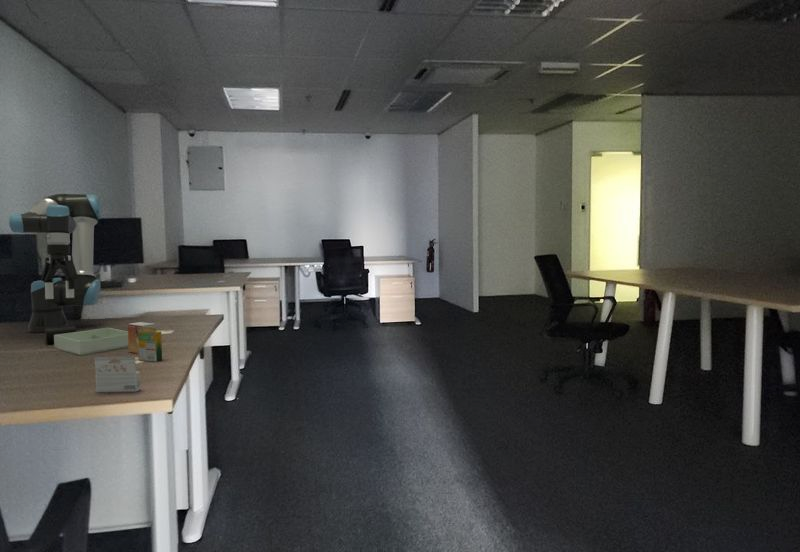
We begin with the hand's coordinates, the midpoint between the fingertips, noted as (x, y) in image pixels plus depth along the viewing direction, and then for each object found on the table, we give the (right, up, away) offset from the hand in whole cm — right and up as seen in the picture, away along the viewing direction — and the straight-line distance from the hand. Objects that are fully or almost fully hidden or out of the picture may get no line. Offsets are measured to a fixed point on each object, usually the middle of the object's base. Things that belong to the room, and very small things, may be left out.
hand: (59, 298), depth 205 cm
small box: (+40, -19, -15) cm, 47 cm away
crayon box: (+49, -20, -28) cm, 60 cm away
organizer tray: (+18, -18, -6) cm, 26 cm away
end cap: (-2, -18, +3) cm, 18 cm away
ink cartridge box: (+57, -23, -63) cm, 88 cm away
